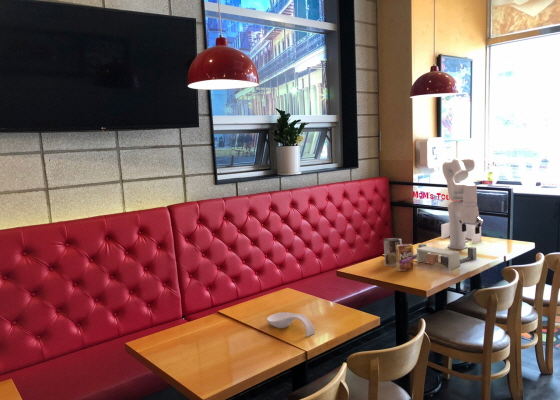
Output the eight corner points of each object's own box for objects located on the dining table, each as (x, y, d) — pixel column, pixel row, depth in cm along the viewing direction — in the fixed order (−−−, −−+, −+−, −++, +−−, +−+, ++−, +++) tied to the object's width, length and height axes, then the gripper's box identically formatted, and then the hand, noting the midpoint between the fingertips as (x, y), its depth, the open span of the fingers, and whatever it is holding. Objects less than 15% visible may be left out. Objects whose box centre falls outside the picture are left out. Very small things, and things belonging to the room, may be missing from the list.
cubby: (426, 259, 279) (426, 245, 278) (459, 266, 259) (459, 251, 258) (417, 262, 274) (416, 248, 273) (450, 269, 254) (450, 254, 253)
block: (431, 260, 275) (431, 253, 274) (438, 262, 271) (438, 254, 270) (426, 262, 272) (426, 254, 271) (433, 264, 268) (433, 256, 267)
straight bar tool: (422, 254, 292) (421, 243, 291) (426, 255, 289) (426, 244, 288) (406, 258, 283) (406, 248, 282) (411, 259, 280) (410, 249, 279)
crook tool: (462, 256, 281) (461, 245, 280) (476, 258, 273) (476, 247, 272) (440, 263, 269) (440, 251, 268) (454, 266, 261) (454, 254, 260)
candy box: (398, 271, 257) (397, 246, 255) (396, 269, 261) (395, 244, 259) (413, 270, 257) (413, 244, 255) (411, 268, 261) (410, 243, 259)
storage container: (481, 240, 319) (481, 225, 318) (473, 243, 313) (473, 228, 311) (449, 236, 339) (449, 222, 338) (441, 239, 332) (441, 224, 331)
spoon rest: (261, 326, 191) (260, 310, 190) (280, 317, 200) (279, 302, 199) (302, 340, 175) (301, 323, 174) (321, 330, 183) (320, 314, 182)
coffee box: (399, 263, 275) (398, 237, 273) (401, 265, 268) (400, 239, 266) (384, 263, 276) (383, 238, 274) (385, 266, 269) (384, 240, 267)
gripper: (454, 204, 273) (454, 231, 275) (478, 206, 257) (478, 235, 259) (462, 202, 276) (463, 229, 278) (486, 205, 261) (487, 233, 262)
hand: (470, 232), depth 268 cm, fingers open, 9 cm apart
